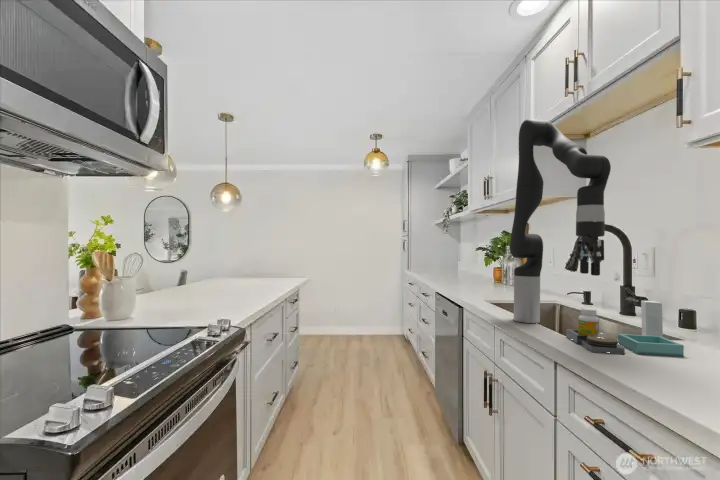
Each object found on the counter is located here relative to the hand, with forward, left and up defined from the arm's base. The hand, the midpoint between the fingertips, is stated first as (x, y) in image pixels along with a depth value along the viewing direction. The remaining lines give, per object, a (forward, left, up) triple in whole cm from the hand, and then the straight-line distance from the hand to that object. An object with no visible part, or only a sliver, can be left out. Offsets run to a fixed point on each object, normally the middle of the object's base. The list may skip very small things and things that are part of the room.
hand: (589, 274), depth 120 cm
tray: (+7, +13, -20) cm, 25 cm away
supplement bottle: (0, 0, -20) cm, 20 cm away
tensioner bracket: (+4, 0, -20) cm, 21 cm away
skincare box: (-6, +20, -20) cm, 29 cm away
